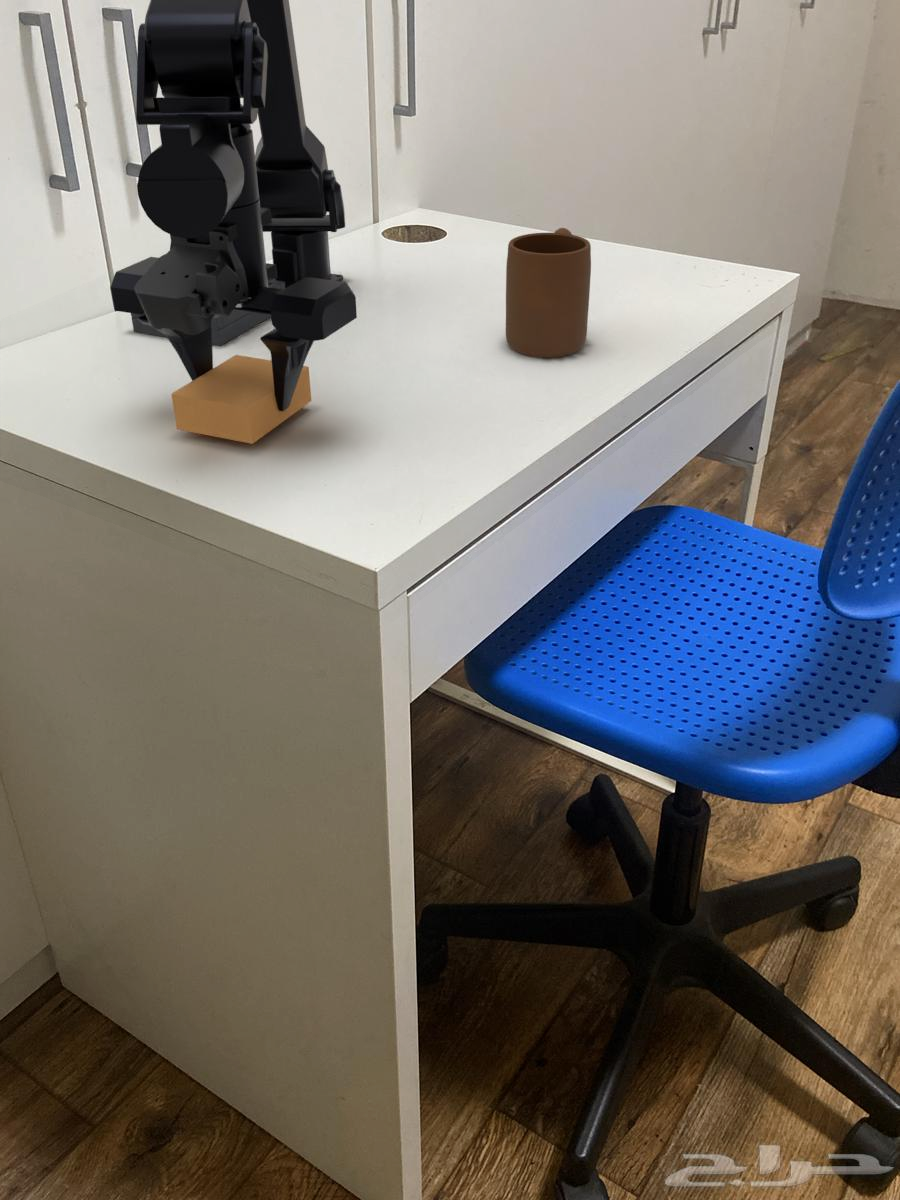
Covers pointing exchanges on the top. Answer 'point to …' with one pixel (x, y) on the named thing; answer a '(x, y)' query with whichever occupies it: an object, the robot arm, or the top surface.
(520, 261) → the mug
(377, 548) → the top surface
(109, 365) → the top surface
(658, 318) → the top surface
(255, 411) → the foam pad
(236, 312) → the dark gray tray
